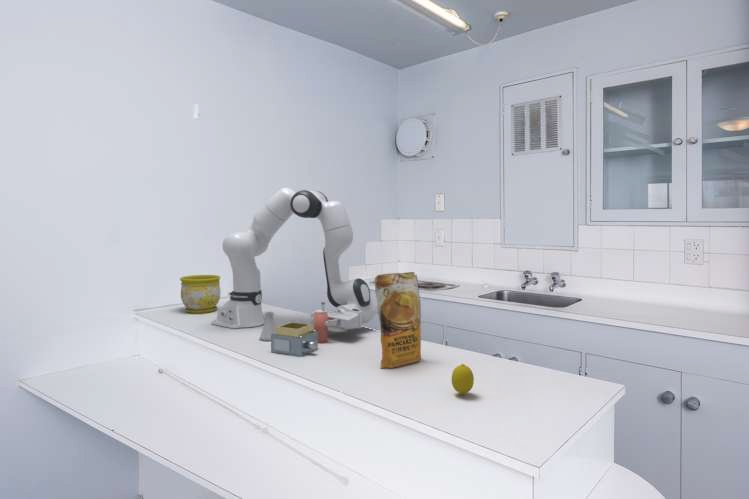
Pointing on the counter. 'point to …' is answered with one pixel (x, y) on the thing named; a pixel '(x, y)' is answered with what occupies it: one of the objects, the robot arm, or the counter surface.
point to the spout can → (321, 324)
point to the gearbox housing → (294, 339)
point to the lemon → (462, 379)
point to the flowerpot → (200, 293)
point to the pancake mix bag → (399, 318)
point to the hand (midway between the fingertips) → (319, 322)
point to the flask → (268, 327)
